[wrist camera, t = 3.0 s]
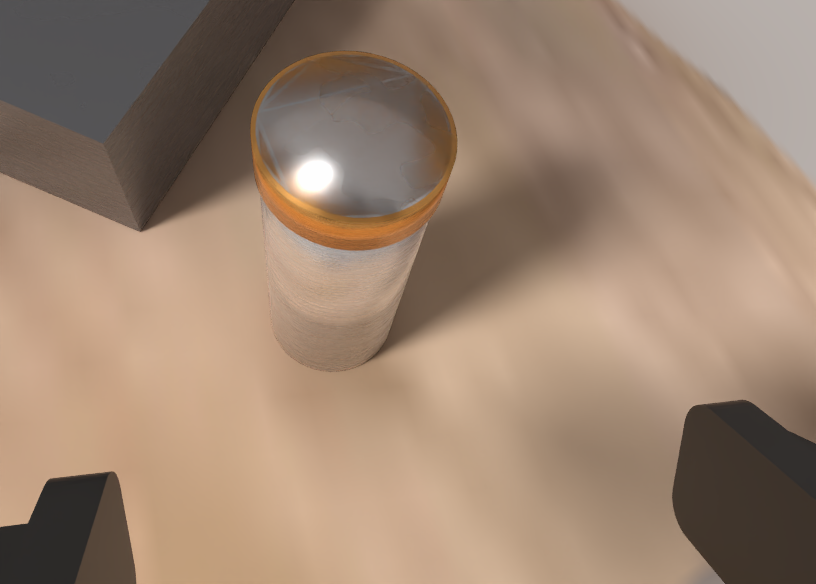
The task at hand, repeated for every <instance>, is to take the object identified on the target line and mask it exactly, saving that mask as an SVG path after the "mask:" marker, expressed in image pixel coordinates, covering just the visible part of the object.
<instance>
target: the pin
mask: <svg viewBox="0 0 816 584" xmlns="http://www.w3.org/2000/svg"><path fill="white" fill-rule="evenodd" d="M250 136H251V146H252V157H253V167H254V175H255V181H256V184H257V187H258V190H259V192H260V194H261V206H262V218H263V230H264V242H265V254H266V266H267V278H268V290H269V302H270V314H271V323H272V328H273V331H274V334H275V336H276V339H277V341H278V342H279V344H280V345H281V347H282V348H283V349H284V350H285V352H286V353H287V354H288V355H290V356H291V357H292V358H293V359H294V360H296V361H297V362H299V363H301V364H303V365H305V366H307V367H310V368H312V369H316V370H320V371H329V372H333V371H343V370H348V369H352V368H355V367H357V366H359V365H361V364H363V363H365V362H366V361H368V360H369V359H370V358H372V357H373V356H374V355H375V354H376V353H377V352H378V351H379V350H380V348H381V347H382V346H383V344H384V342H385V340H386V338H387V336H388V333H389V331H390V328H391V325H392V322H393V319H394V317H395V314H396V311H397V308H398V305H399V302H400V300H401V297H402V294H403V291H404V288H405V286H406V283H407V280H408V277H409V274H410V272H411V269H412V266H413V263H414V260H415V258H416V255H417V252H418V249H419V246H420V244H421V241H422V238H423V235H424V232H425V230H426V227H427V224H428V221H429V219H430V218H431V216H432V215H433V214H434V212H435V211H436V209H437V207H438V205H439V203H440V201H441V198H442V196H443V193H444V190H445V188H446V185H447V182H448V179H449V177H450V174H451V171H452V168H453V166H454V163H455V159H456V153H457V134H456V128H455V124H454V121H453V117H452V115H451V113H450V111H449V108H448V107H447V105H446V103H445V102H444V100H443V98H442V97H441V96H440V95H439V93H438V92H437V91H436V90H435V88H434V87H433V86H432V85H431V84H430V83H429V82H427V81H426V80H425V79H424V78H423V77H421V76H420V75H419V74H418V73H416V72H415V71H413V70H411V69H410V68H408V67H406V66H405V65H403V64H400V63H398V62H396V61H394V60H391V59H389V58H386V57H383V56H379V55H375V54H371V53H365V52H358V51H334V52H327V53H321V54H317V55H313V56H310V57H307V58H304V59H302V60H299V61H297V62H295V63H293V64H291V65H290V66H288V67H286V68H285V69H283V70H282V71H281V72H279V73H278V74H277V75H276V76H275V77H274V78H273V79H272V80H271V81H270V82H269V83H268V84H267V85H266V87H265V88H264V89H263V91H262V92H261V94H260V96H259V97H258V99H257V101H256V104H255V107H254V109H253V112H252V118H251V127H250Z"/></svg>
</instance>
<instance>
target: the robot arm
mask: <svg viewBox="0 0 816 584" xmlns="http://www.w3.org/2000/svg"><path fill="white" fill-rule="evenodd" d="M672 500H673V508H674V512H675V516H676V519H677V521H678V524H679V526H680V528H681V530H682V531H683V533H684V534H685V536H686V537H687V538H688V540H689V541H690V542H691V543H692V544H693V546H694V547H695V548H696V549H697V550H698V552H699V553H700V554H701V555H702V556H703V558H704V559H705V560H706V561H707V562H708V564H709V565H710V566H711V567H712V568H713V570H714V571H715V572H716V573H717V574H718V576H719V577H720V578H721V579H722V580H723V582H724V583H725V584H816V444H815V443H813V442H811V441H808V440H806V439H804V438H802V437H800V436H798V435H796V434H794V433H792V432H790V431H787V430H786V429H785V428H784V427H782V426H781V425H780V424H778V423H777V422H776V421H775V420H773V419H772V418H771V417H769V416H768V415H767V414H766V413H764V412H763V411H762V410H760V409H759V408H758V407H757V406H755V405H754V404H752V403H751V402H749V401H746V400H738V401H729V402H721V403H712V404H704V405H696V406H694V407H692V408H691V409H690V410H689V412H688V414H687V416H686V419H685V424H684V429H683V435H682V441H681V446H680V452H679V458H678V463H677V469H676V475H675V480H674V486H673V493H672ZM0 584H136V573H135V565H134V559H133V554H132V548H131V543H130V537H129V532H128V526H127V521H126V516H125V510H124V505H123V499H122V494H121V488H120V484H119V480H118V477H117V475H116V473H115V472H104V473H95V474H87V475H78V476H69V477H61V478H52V479H49V480H48V481H47V482H46V484H45V486H44V488H43V490H42V492H41V495H40V497H39V499H38V502H37V504H36V506H35V509H34V511H33V513H32V515H31V518H30V520H29V522H28V524H20V525H13V526H5V527H0Z"/></svg>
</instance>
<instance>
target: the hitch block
mask: <svg viewBox="0 0 816 584" xmlns="http://www.w3.org/2000/svg"><path fill="white" fill-rule="evenodd" d="M293 1H294V0H0V172H1V173H3V174H6V175H8V176H10V177H13V178H15V179H17V180H20V181H22V182H25V183H27V184H29V185H32V186H34V187H36V188H39V189H41V190H43V191H46V192H48V193H50V194H53V195H55V196H57V197H60V198H62V199H64V200H67V201H69V202H71V203H74V204H76V205H78V206H81V207H83V208H85V209H88V210H90V211H92V212H95V213H97V214H100V215H102V216H104V217H107V218H109V219H111V220H114V221H116V222H118V223H121V224H123V225H125V226H128V227H130V228H132V229H135V230H137V231H139V232H141V230H142V229H143V227H144V226H145V224H146V223H147V221H148V220H149V218H150V217H151V215H152V214H153V212H154V211H155V209H156V208H157V206H158V205H159V203H160V202H161V200H162V199H163V197H164V196H165V194H166V193H167V191H168V190H169V188H170V187H171V185H172V184H173V182H174V181H175V179H176V178H177V176H178V175H179V173H180V172H181V170H182V169H183V167H184V165H185V164H186V162H187V161H188V159H189V158H190V156H191V155H192V153H193V152H194V150H195V149H196V147H197V146H198V144H199V143H200V141H201V140H202V138H203V137H204V135H205V134H206V132H207V131H208V129H209V128H210V126H211V125H212V123H213V122H214V120H215V119H216V117H217V116H218V114H219V113H220V111H221V110H222V108H223V107H224V105H225V104H226V102H227V101H228V99H229V98H230V96H231V95H232V93H233V92H234V90H235V89H236V87H237V86H238V84H239V83H240V81H241V80H242V78H243V77H244V75H245V74H246V72H247V71H248V69H249V68H250V66H251V65H252V63H253V62H254V60H255V59H256V57H257V56H258V54H259V52H260V51H261V49H262V48H263V46H264V45H265V43H266V42H267V40H268V39H269V37H270V36H271V34H272V33H273V31H274V30H275V28H276V27H277V25H278V24H279V22H280V21H281V19H282V18H283V16H284V15H285V13H286V12H287V10H288V9H289V7H290V6H291V4H292V3H293Z"/></svg>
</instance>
